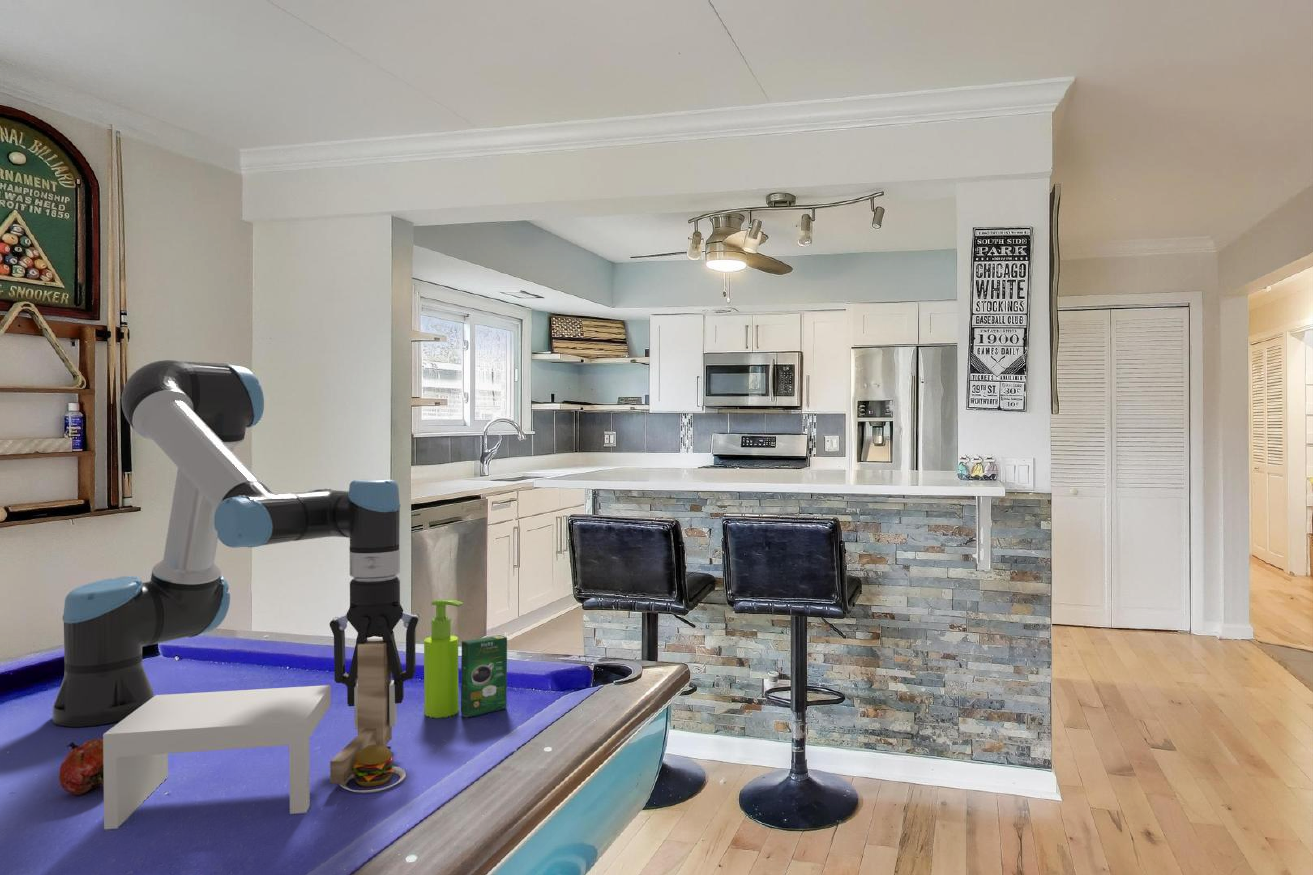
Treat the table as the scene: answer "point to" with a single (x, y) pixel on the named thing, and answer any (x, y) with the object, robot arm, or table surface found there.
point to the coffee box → (483, 675)
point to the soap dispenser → (441, 664)
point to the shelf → (208, 738)
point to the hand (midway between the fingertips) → (375, 724)
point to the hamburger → (373, 768)
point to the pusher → (367, 707)
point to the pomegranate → (83, 767)
